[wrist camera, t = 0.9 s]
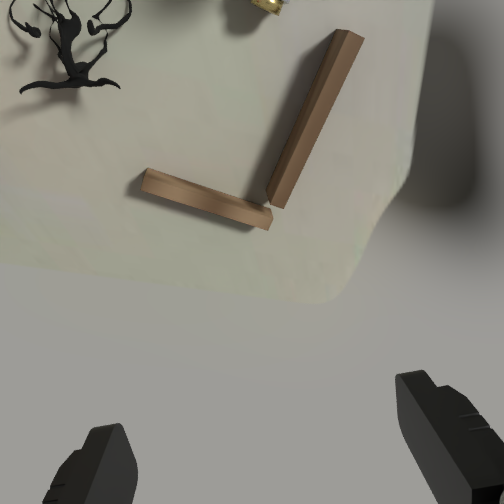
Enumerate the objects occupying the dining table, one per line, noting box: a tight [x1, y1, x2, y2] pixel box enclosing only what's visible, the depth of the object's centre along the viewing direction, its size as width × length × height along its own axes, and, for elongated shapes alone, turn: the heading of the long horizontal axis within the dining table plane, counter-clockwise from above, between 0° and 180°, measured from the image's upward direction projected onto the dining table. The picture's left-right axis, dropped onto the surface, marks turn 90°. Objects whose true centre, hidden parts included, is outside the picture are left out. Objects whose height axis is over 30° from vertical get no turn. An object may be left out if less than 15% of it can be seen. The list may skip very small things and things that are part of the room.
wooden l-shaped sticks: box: [140, 29, 365, 231], centre depth 28 cm, size 11×16×3 cm
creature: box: [9, 0, 132, 94], centre depth 24 cm, size 8×5×8 cm
